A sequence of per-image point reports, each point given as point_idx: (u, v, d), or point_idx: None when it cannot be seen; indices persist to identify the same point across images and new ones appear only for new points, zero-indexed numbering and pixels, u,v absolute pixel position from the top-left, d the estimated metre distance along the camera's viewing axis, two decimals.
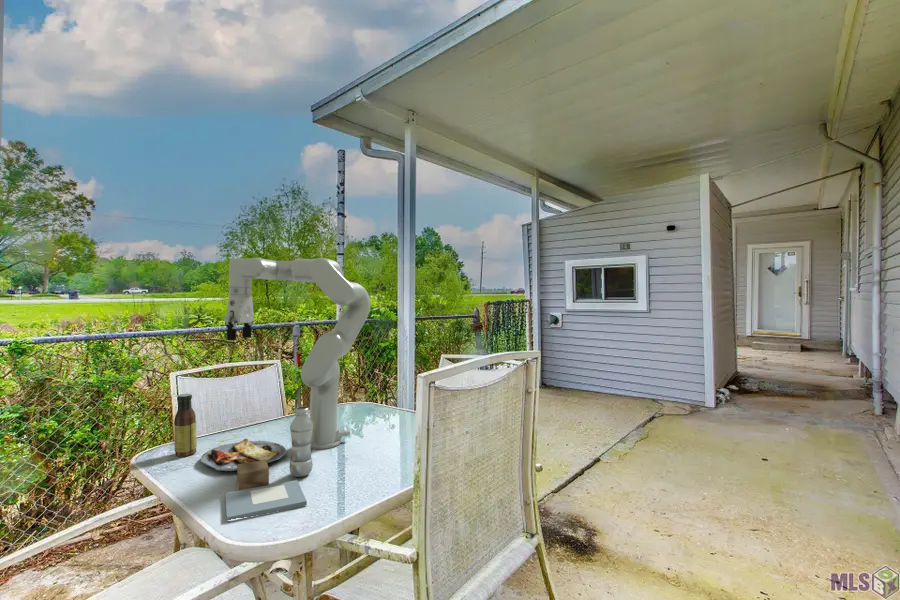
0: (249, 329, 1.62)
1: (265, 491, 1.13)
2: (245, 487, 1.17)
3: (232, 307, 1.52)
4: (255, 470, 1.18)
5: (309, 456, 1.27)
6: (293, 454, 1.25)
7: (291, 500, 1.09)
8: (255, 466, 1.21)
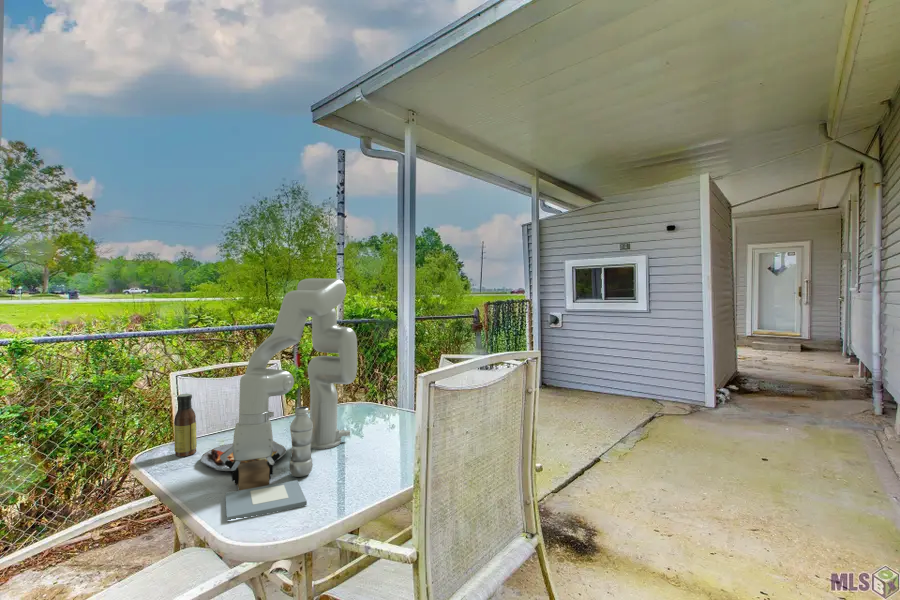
0: None
1: (265, 491, 1.13)
2: (246, 486, 1.16)
3: None
4: (256, 469, 1.19)
5: (309, 456, 1.27)
6: (293, 454, 1.25)
7: (291, 500, 1.09)
8: (255, 465, 1.21)
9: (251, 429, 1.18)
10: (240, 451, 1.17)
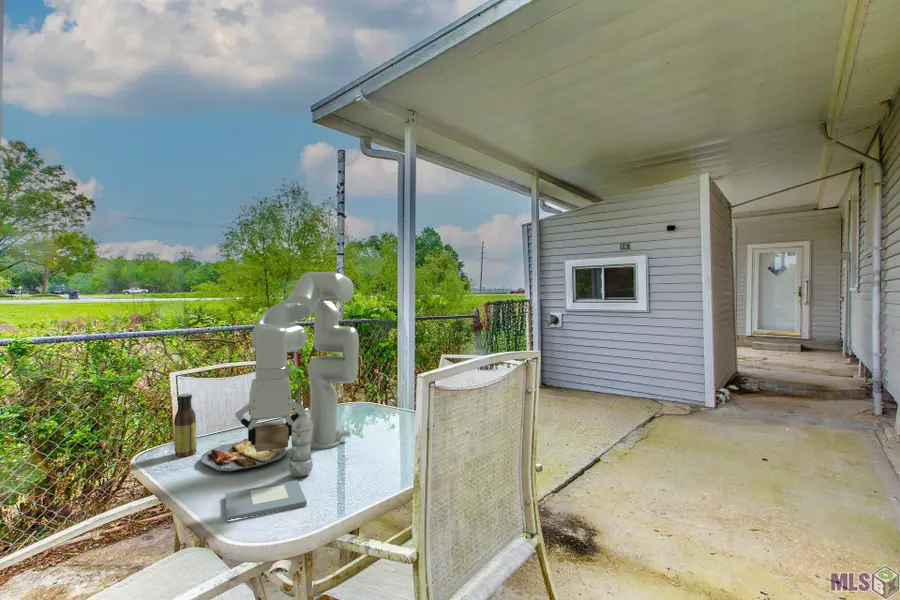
0: None
1: (265, 491, 1.13)
2: (263, 447, 1.07)
3: None
4: (274, 428, 1.09)
5: (309, 456, 1.27)
6: (293, 454, 1.25)
7: (291, 500, 1.09)
8: (273, 425, 1.12)
9: (269, 385, 1.09)
10: (257, 408, 1.08)
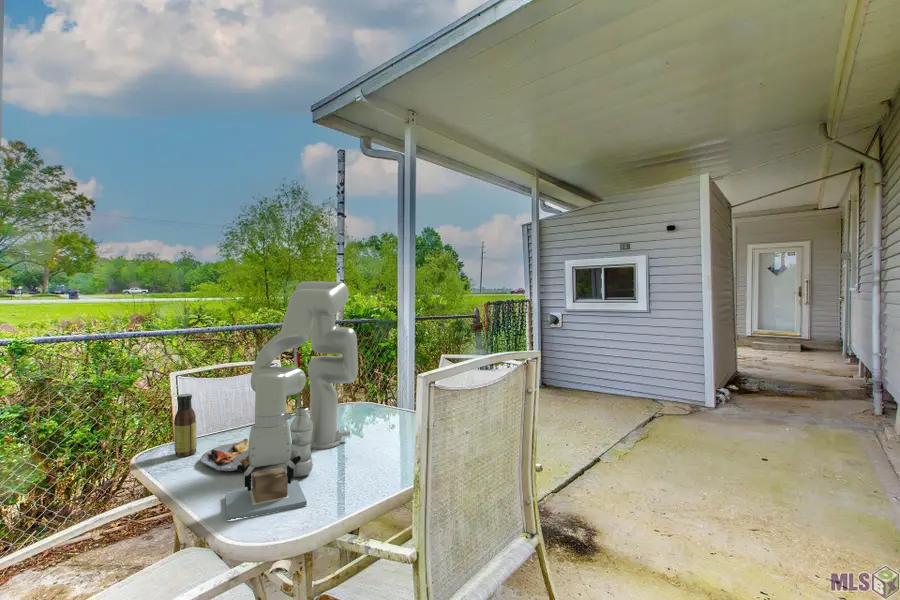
0: None
1: None
2: (262, 497, 1.08)
3: None
4: (273, 478, 1.10)
5: (309, 456, 1.27)
6: (293, 454, 1.25)
7: (291, 500, 1.09)
8: (272, 474, 1.12)
9: (268, 432, 1.09)
10: (256, 456, 1.08)
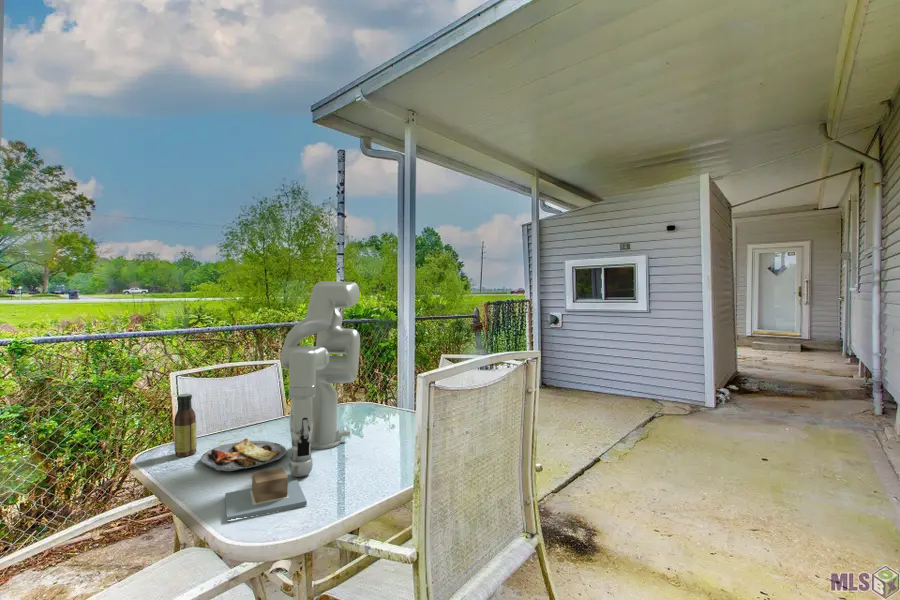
0: None
1: None
2: (262, 497, 1.08)
3: None
4: (273, 478, 1.10)
5: (309, 456, 1.27)
6: (293, 454, 1.25)
7: (291, 500, 1.09)
8: (272, 474, 1.12)
9: None
10: None
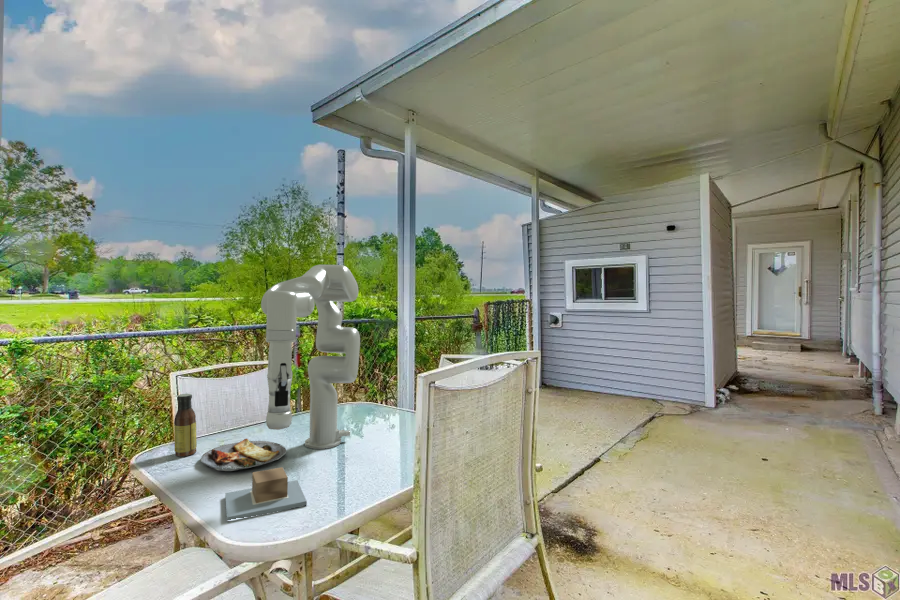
0: None
1: None
2: (262, 497, 1.08)
3: None
4: (273, 478, 1.10)
5: (288, 407, 1.15)
6: (270, 404, 1.13)
7: (291, 500, 1.09)
8: (272, 474, 1.12)
9: None
10: None
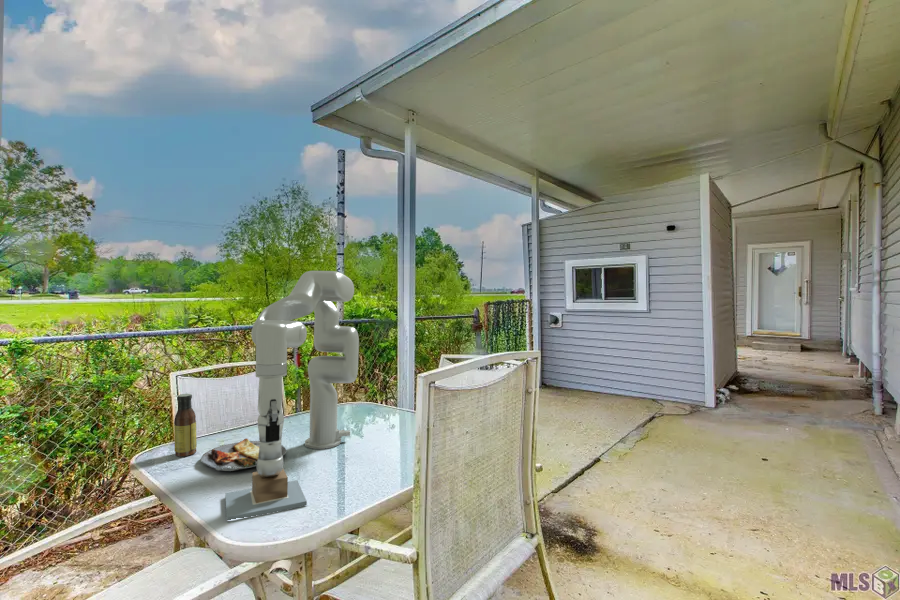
0: None
1: None
2: (262, 497, 1.08)
3: None
4: (273, 478, 1.10)
5: (279, 454, 1.11)
6: (260, 451, 1.09)
7: (291, 500, 1.09)
8: None
9: None
10: None
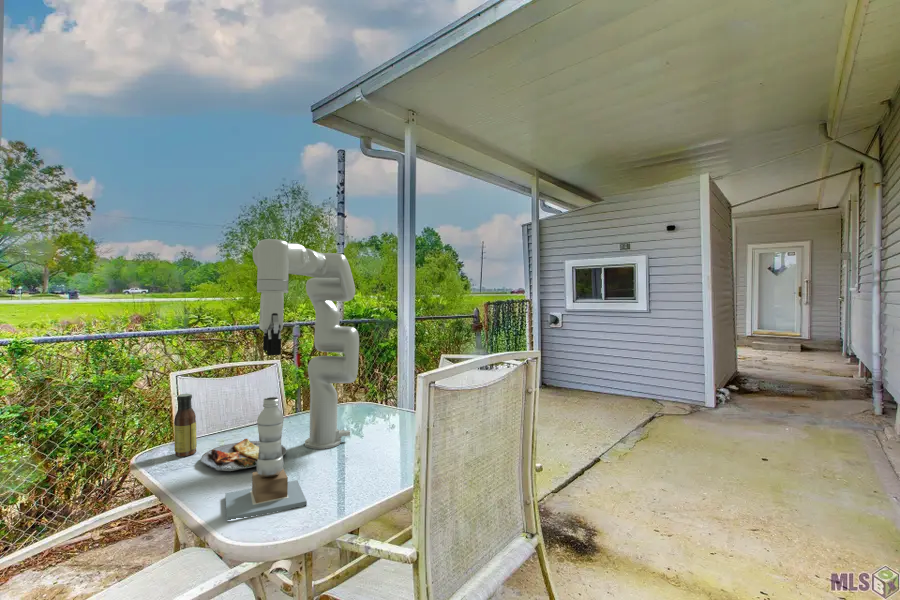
0: None
1: None
2: (262, 497, 1.08)
3: None
4: (273, 478, 1.10)
5: (279, 453, 1.11)
6: (260, 451, 1.09)
7: (291, 500, 1.09)
8: None
9: None
10: None
